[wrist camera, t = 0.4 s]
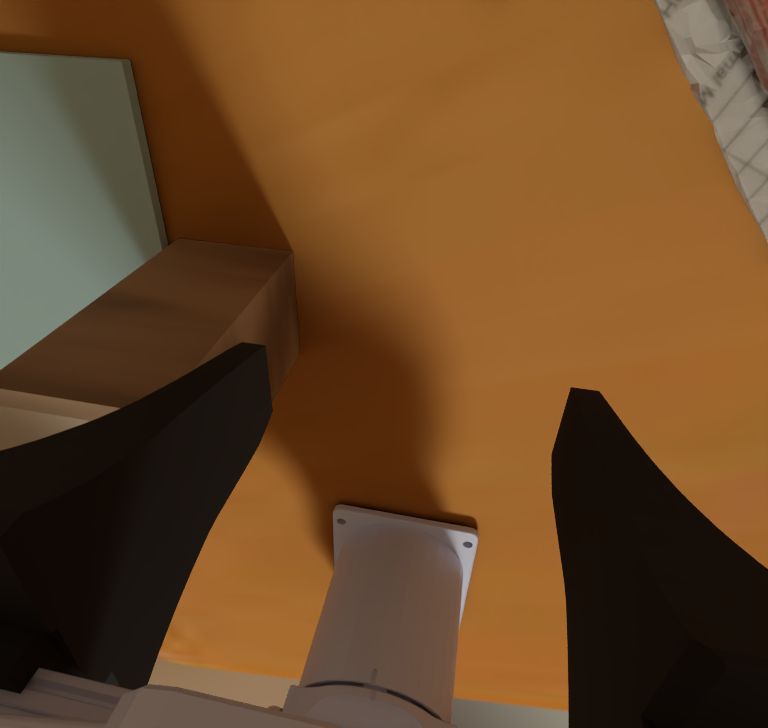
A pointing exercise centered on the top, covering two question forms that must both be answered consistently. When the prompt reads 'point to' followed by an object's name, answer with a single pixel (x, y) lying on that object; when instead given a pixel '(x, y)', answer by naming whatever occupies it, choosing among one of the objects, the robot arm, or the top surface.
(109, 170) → the mat
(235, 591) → the top surface
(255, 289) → the walnut block
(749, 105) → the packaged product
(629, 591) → the robot arm
